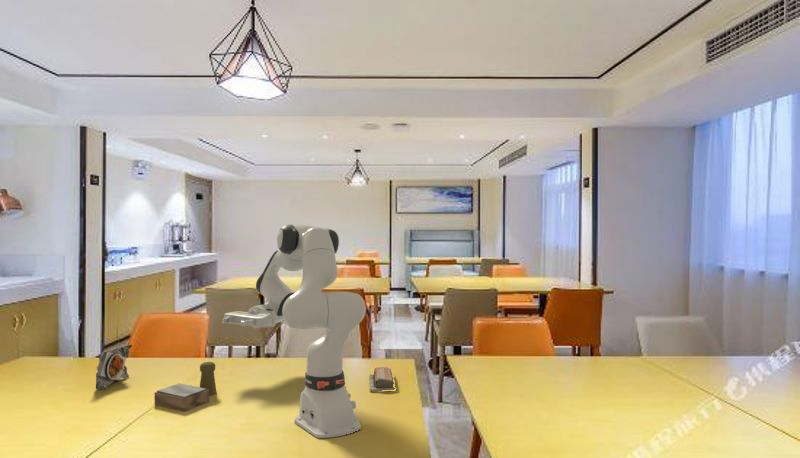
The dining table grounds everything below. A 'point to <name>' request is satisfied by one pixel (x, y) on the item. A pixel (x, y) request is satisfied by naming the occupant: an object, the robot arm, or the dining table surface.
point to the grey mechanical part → (112, 366)
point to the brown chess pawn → (208, 377)
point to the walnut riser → (181, 397)
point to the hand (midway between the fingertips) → (233, 322)
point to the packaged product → (381, 379)
